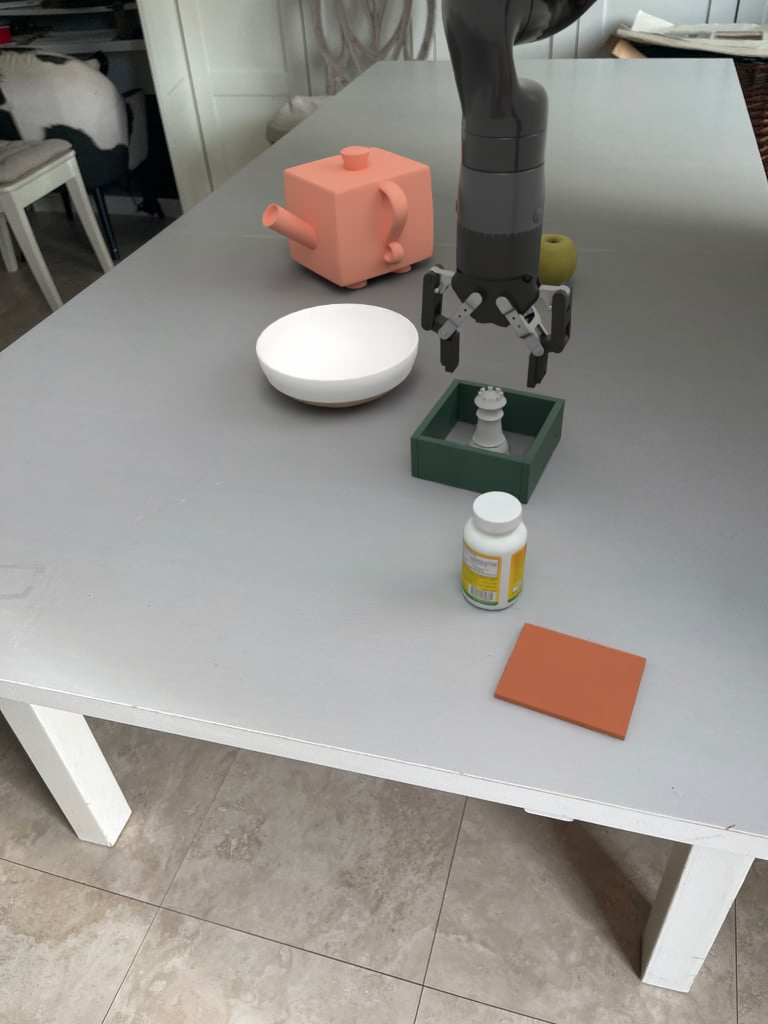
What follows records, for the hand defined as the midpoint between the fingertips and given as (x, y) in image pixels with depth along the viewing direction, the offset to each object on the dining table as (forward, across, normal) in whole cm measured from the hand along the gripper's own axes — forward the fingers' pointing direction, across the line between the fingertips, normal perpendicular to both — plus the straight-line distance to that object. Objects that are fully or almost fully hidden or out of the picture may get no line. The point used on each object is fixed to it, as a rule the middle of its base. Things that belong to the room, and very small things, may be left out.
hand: (491, 376), depth 81 cm
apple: (+10, +6, -44) cm, 45 cm away
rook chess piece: (+10, 0, 0) cm, 10 cm away
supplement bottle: (+10, -7, +19) cm, 23 cm away
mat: (+10, -16, +26) cm, 32 cm away
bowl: (+10, +22, -8) cm, 25 cm away
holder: (+10, 0, 0) cm, 10 cm away
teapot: (+10, +37, -38) cm, 54 cm away
